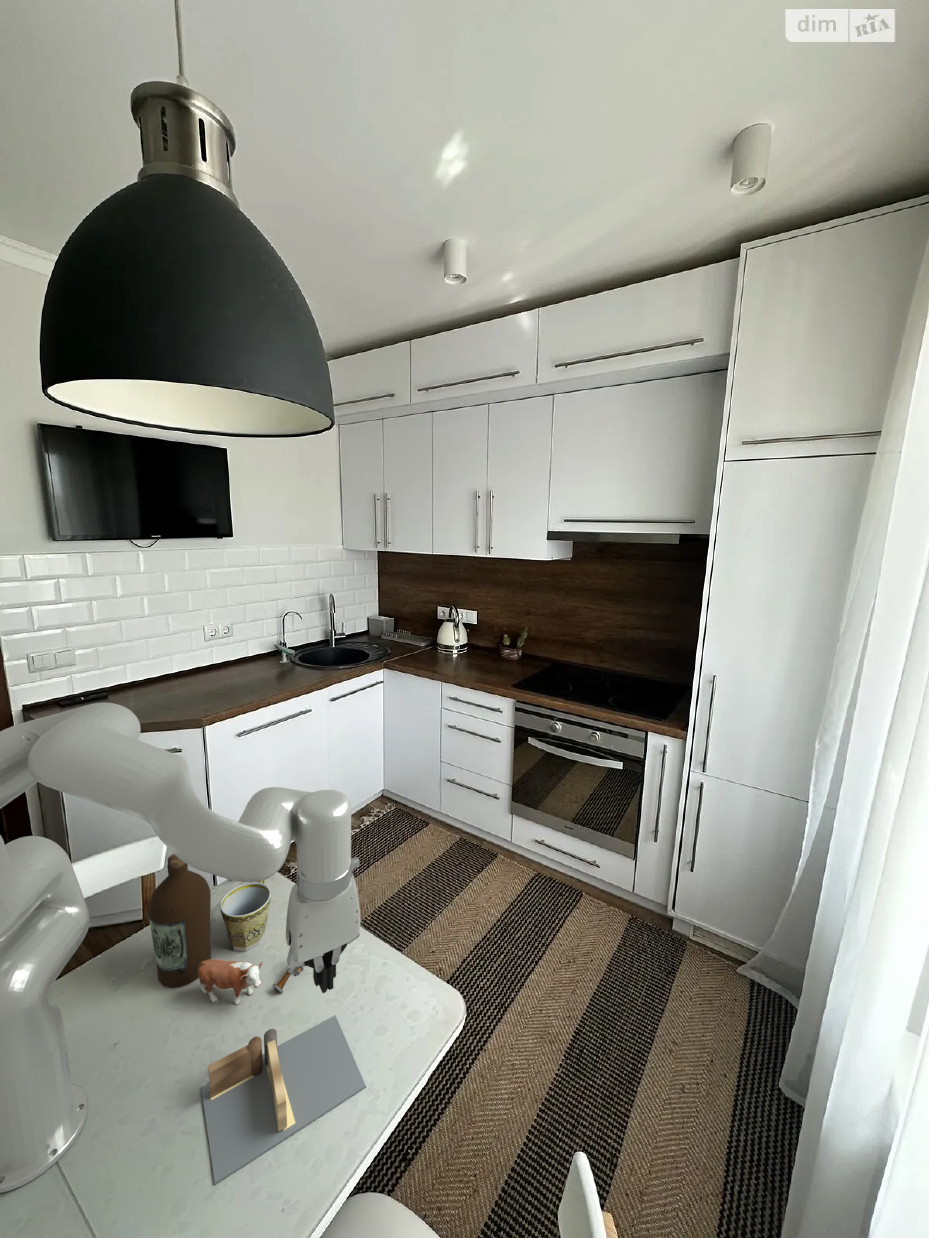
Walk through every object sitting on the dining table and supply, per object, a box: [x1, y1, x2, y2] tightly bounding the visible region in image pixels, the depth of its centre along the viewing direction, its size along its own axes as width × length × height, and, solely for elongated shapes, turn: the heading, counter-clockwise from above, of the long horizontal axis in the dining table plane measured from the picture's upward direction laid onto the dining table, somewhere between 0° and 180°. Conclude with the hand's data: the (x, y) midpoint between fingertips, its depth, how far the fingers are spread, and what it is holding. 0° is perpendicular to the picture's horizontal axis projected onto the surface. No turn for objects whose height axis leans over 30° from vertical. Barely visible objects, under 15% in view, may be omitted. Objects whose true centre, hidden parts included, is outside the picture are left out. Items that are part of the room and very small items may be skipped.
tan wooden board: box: [263, 1028, 287, 1131], centre depth 78 cm, size 12×2×5 cm, turn 30°
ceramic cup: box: [219, 880, 272, 952], centre depth 107 cm, size 13×10×10 cm
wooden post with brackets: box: [272, 964, 305, 994], centre depth 98 cm, size 2×8×4 cm, turn 149°
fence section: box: [207, 1036, 263, 1098], centre depth 79 cm, size 8×2×5 cm, turn 124°
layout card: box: [200, 1014, 367, 1186], centre depth 79 cm, size 22×14×1 cm, turn 124°
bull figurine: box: [198, 958, 263, 1006], centre depth 93 cm, size 4×13×8 cm, turn 78°
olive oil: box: [147, 853, 212, 989], centre depth 97 cm, size 11×11×25 cm
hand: (324, 983), depth 75 cm, fingers closed
